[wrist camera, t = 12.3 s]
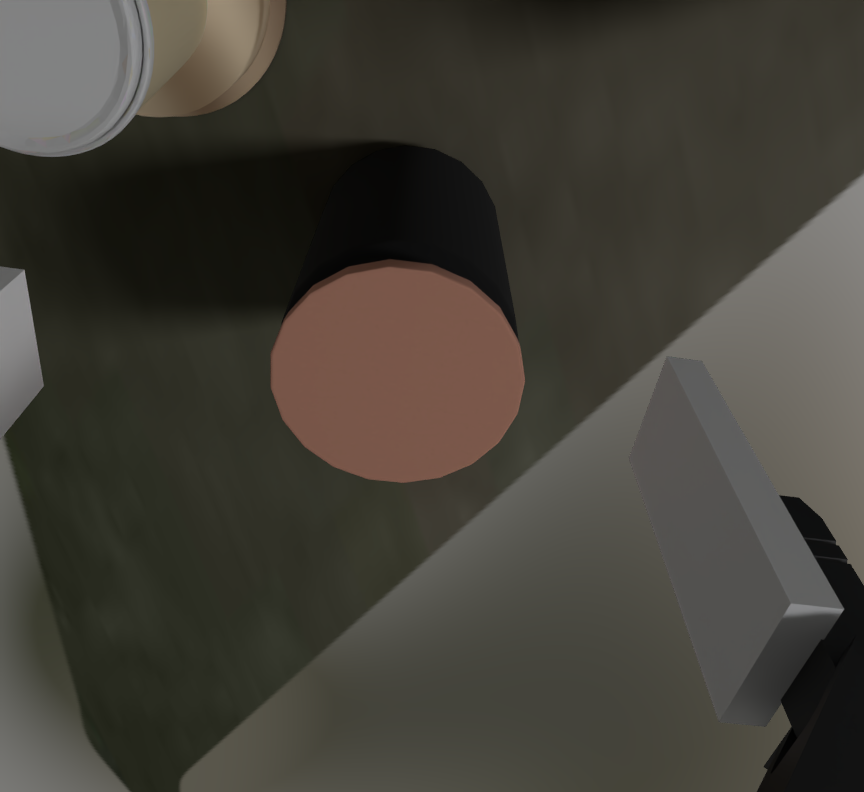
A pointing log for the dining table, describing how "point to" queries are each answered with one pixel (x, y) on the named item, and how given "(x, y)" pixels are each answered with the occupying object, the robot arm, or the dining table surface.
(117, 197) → the dining table surface
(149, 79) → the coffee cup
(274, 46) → the pedestal
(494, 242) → the coffee jar
